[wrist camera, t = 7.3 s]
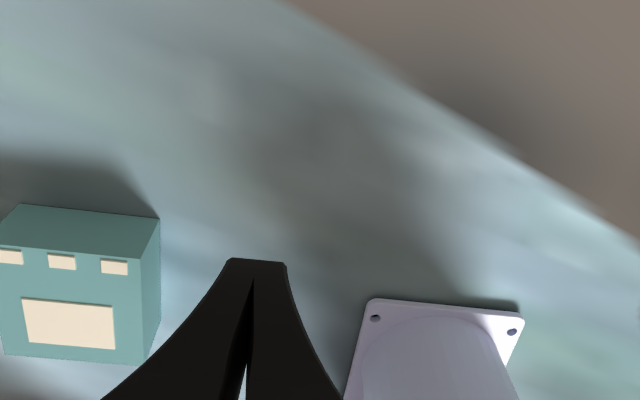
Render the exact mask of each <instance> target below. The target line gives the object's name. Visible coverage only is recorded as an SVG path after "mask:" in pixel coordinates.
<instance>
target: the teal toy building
mask: <svg viewBox="0 0 640 400" xmlns="http://www.w3.org/2000/svg"><path fill="white" fill-rule="evenodd" d="M160 321H161V294H160V219H155V218H146V217H137V216H128V215H119V214H110V213H101V212H92V211H83V210H74V209H65V208H56V207H47V206H38V205H29V204H20V203H19V204H18V205H17V206H16V207H15V208H14V209H13V210H12V211H11V212H10V213H9V214H8V215H7V216H6V217H5V218H4V219H3V220H2V221H1V222H0V335H1V339H2V344H3V349H4V353H5V355H15V356H27V357H38V358H50V359H62V360H73V361H85V362H96V363H108V364H120V365H131V366H141V365H142V364H143V363H144V362H145V361H146V359H147V357H148V354H149V351H150V348H151V346H152V343H153V340H154V337H155V335H156V332H157V329H158V326H159V324H160Z"/></svg>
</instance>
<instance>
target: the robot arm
mask: <svg viewBox="0 0 640 400" xmlns="http://www.w3.org/2000/svg"><path fill="white" fill-rule="evenodd" d="M372 315H378V316H377V317H371V316H372ZM524 325H525V320H524V318H523V316H522V315H521V314H520V313H517V312H509V311H500V310H490V309H480V308H470V307H460V306H450V305H441V304H431V303H421V302H411V301H401V300H391V299H381V298H374V299H372V300H370V301H369V302H368V303H367V305H366V309H365V313H364V317H363V321H362V325H361V329H360V333H359V337H358V341H357V345H356V349H355V353H354V357H353V361H352V365H351V370H350V374H349V378H348V382H347V386H346V390H345V394H344V398H342V397H341V395H340V393H339V392H338V390H337V389H336V387H335V386H334V384H333V382H332V381H331V379H330V377H329V376H328V374H327V372H326V371H325V369H324V367H323V365H322V363H321V362H320V360H319V358H318V356H317V354H316V352H315V350H314V348H313V346H312V343H311V341H310V339H309V337H308V335H307V333H306V330H305V328H304V326H303V323H302V320H301V318H300V315H299V313H298V310H297V308H296V305H295V302H294V299H293V295H292V292H291V288H290V284H289V280H288V274H287V266H286V265H285V264H284V263H283V262H275V261H264V260H254V259H243V258H233V257H232V258H230V259H229V260H227V261H226V263H225V265H224V267H223V269H222V271H221V272H220V274H219V276H218V277H217V279H216V280H215V282H214V283H213V285H212V286H211V288H210V289H209V290H208V292H207V293H206V295H205V296H204V297H203V298H202V300H201V301H200V302H199V304H198V305H197V306H196V308H195V309H194V310H193V311H192V313H191V314H190V315H189V316H188V317H187V318H186V320H185V321H184V322H183V323H182V324H181V325H180V326H179V328H178V329H177V330H176V331H175V332H174V333H173V334H172V335H171V337H170V338H169V339H168V340H167V341H166V342H165V343H164V344H163V345H162V346H161V347H160V348H159V349H158V350H157V351H156V352H155V353H154V354H153V355H152V356H151V357H150V358H149V359H148V360H146V361H145V362H144V363H143V364H142V365H141V366H140V367H139V368H138V369H137V370H135V371H134V372H133V373H132V374H131V375H130V376H128V377H127V378H126V379H125V380H124V381H123V382H121V383H120V384H119V385H118V386H117V387H116V388H114V389H113V390H112V391H111V392H109V393H108V394H107V395H105V396H104V397H103V398H102V399H100V400H238V398H239V394H240V389H241V385H242V381H243V377H244V373H245V368H246V364H247V371H246V400H519V398H518V395H517V393H516V391H515V388H514V386H513V384H512V381H511V379H510V377H509V374H508V372H507V370H506V368H505V366H506V364H507V362H508V360H509V358H510V355H511V353H512V351H513V349H514V347H515V344H516V342H517V340H518V338H519V336H520V333H521V331H522V329H523V327H524ZM510 328H513V329H511V330H508V329H510Z"/></svg>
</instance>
